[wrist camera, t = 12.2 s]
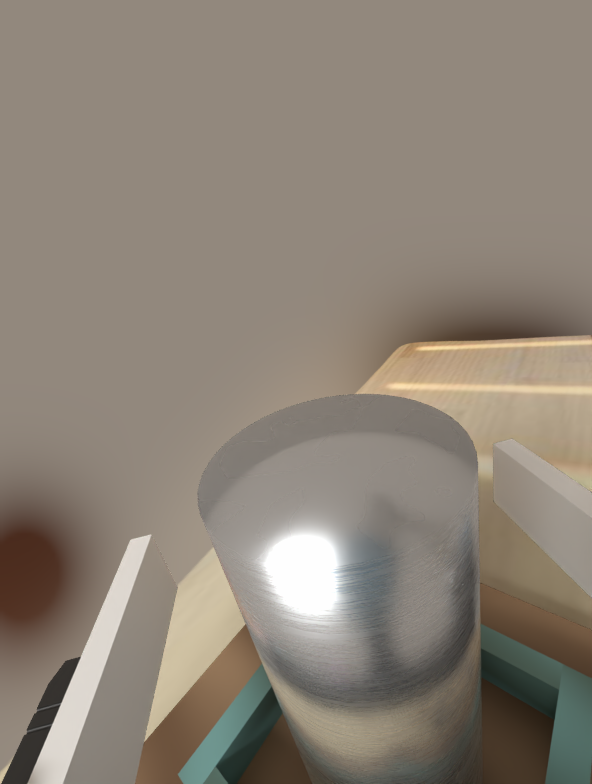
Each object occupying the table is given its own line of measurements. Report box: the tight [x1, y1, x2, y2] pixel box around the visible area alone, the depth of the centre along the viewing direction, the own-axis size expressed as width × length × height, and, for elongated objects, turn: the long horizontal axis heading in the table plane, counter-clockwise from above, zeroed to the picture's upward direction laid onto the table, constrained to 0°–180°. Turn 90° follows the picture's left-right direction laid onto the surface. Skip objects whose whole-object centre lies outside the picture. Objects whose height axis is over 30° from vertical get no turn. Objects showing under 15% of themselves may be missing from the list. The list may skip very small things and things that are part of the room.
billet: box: [198, 394, 483, 784], centre depth 11 cm, size 6×6×14 cm
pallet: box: [135, 583, 592, 784], centre depth 13 cm, size 18×18×4 cm
